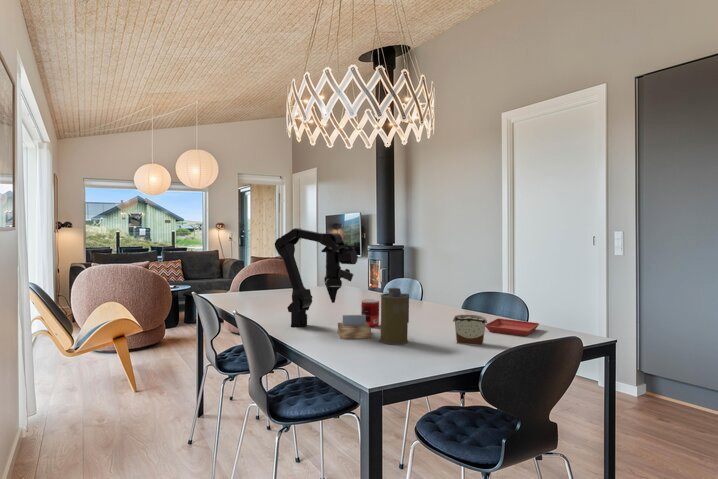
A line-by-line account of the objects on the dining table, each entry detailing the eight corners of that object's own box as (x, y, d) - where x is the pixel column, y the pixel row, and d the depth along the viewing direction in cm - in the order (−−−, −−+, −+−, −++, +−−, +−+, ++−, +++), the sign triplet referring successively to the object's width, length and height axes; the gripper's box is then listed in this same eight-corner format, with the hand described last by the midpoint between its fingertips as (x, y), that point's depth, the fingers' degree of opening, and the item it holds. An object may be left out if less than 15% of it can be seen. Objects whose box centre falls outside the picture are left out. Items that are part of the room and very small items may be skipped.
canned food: (379, 324, 210) (379, 299, 209) (378, 327, 202) (378, 301, 201) (362, 323, 210) (362, 298, 210) (360, 327, 202) (360, 301, 202)
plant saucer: (528, 338, 185) (528, 330, 185) (483, 332, 195) (483, 324, 195) (539, 330, 200) (540, 323, 200) (497, 325, 210) (497, 318, 210)
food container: (488, 342, 177) (488, 315, 177) (487, 346, 171) (487, 318, 171) (454, 339, 181) (455, 313, 181) (452, 343, 175) (453, 316, 175)
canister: (388, 346, 170) (389, 290, 169) (375, 339, 179) (375, 287, 179) (414, 343, 174) (415, 289, 174) (400, 337, 184) (400, 286, 183)
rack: (340, 338, 180) (340, 328, 180) (337, 331, 192) (337, 322, 192) (371, 338, 182) (371, 328, 182) (366, 331, 194) (367, 322, 194)
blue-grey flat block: (342, 333, 185) (342, 315, 185) (342, 332, 187) (342, 314, 187) (365, 333, 187) (365, 315, 186) (364, 332, 189) (365, 314, 188)
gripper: (354, 265, 187) (354, 304, 187) (350, 262, 206) (349, 297, 206) (326, 265, 186) (326, 304, 186) (324, 261, 204) (324, 297, 205)
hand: (332, 301), depth 196 cm, fingers open, 9 cm apart
